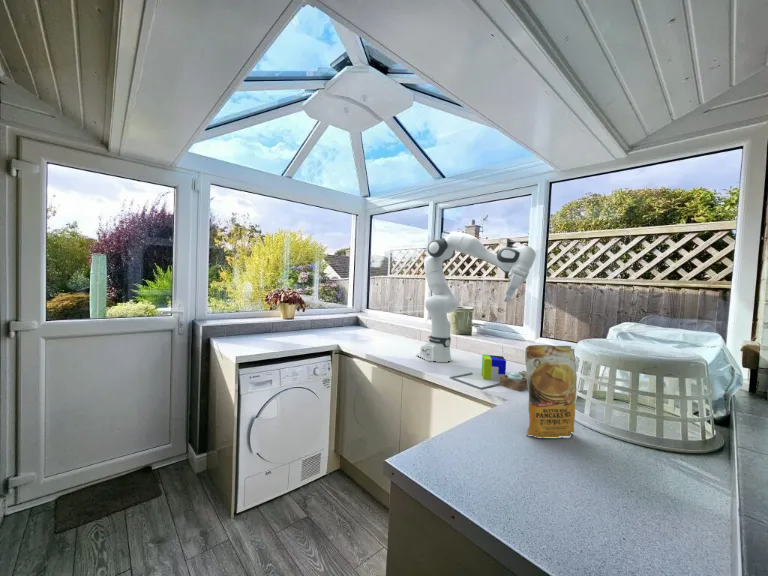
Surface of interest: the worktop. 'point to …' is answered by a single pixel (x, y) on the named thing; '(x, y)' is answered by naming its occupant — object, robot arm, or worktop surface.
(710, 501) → the worktop surface
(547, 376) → the pancake mix bag
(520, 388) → the brown wooden box
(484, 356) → the puzzle toy
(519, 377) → the dome button
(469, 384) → the frame
